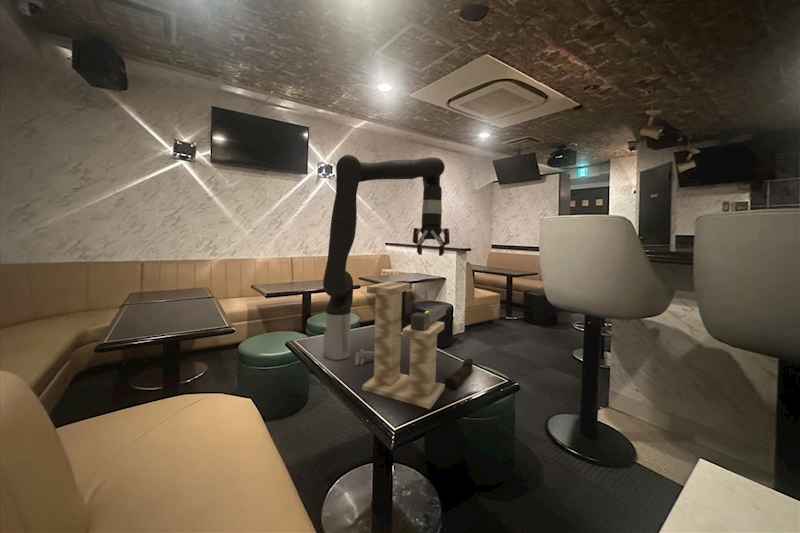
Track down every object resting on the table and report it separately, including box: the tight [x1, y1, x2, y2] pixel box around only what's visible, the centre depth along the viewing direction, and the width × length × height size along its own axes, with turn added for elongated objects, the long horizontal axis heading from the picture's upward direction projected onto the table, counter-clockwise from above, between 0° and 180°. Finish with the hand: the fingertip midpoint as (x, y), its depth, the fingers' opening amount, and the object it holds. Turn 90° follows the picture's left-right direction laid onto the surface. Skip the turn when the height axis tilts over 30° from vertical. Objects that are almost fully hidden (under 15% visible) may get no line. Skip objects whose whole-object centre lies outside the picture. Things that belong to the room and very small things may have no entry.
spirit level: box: [410, 304, 447, 331], centre depth 95 cm, size 4×22×4 cm, turn 154°
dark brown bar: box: [444, 358, 474, 391], centre depth 102 cm, size 19×4×5 cm, turn 144°
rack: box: [361, 280, 446, 410], centre depth 93 cm, size 22×13×32 cm, turn 64°
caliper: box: [354, 348, 402, 367], centre depth 116 cm, size 20×1×6 cm, turn 127°
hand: (430, 255), depth 119 cm, fingers open, 8 cm apart
